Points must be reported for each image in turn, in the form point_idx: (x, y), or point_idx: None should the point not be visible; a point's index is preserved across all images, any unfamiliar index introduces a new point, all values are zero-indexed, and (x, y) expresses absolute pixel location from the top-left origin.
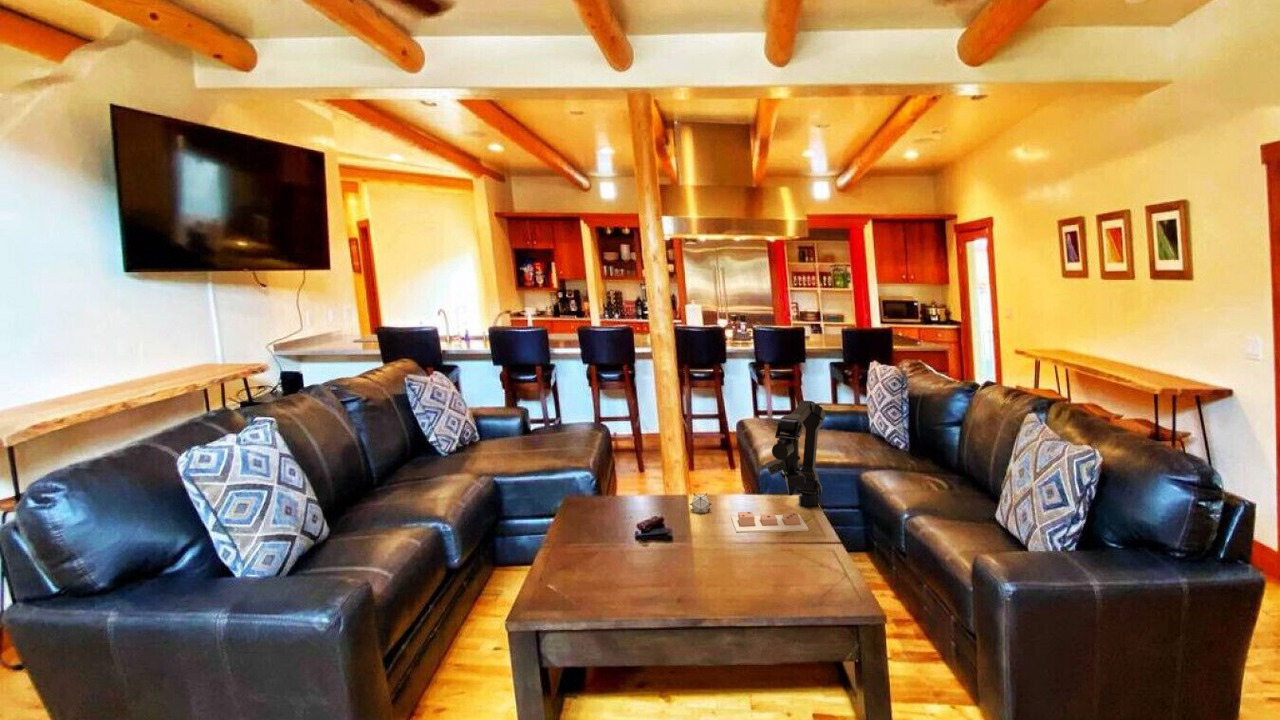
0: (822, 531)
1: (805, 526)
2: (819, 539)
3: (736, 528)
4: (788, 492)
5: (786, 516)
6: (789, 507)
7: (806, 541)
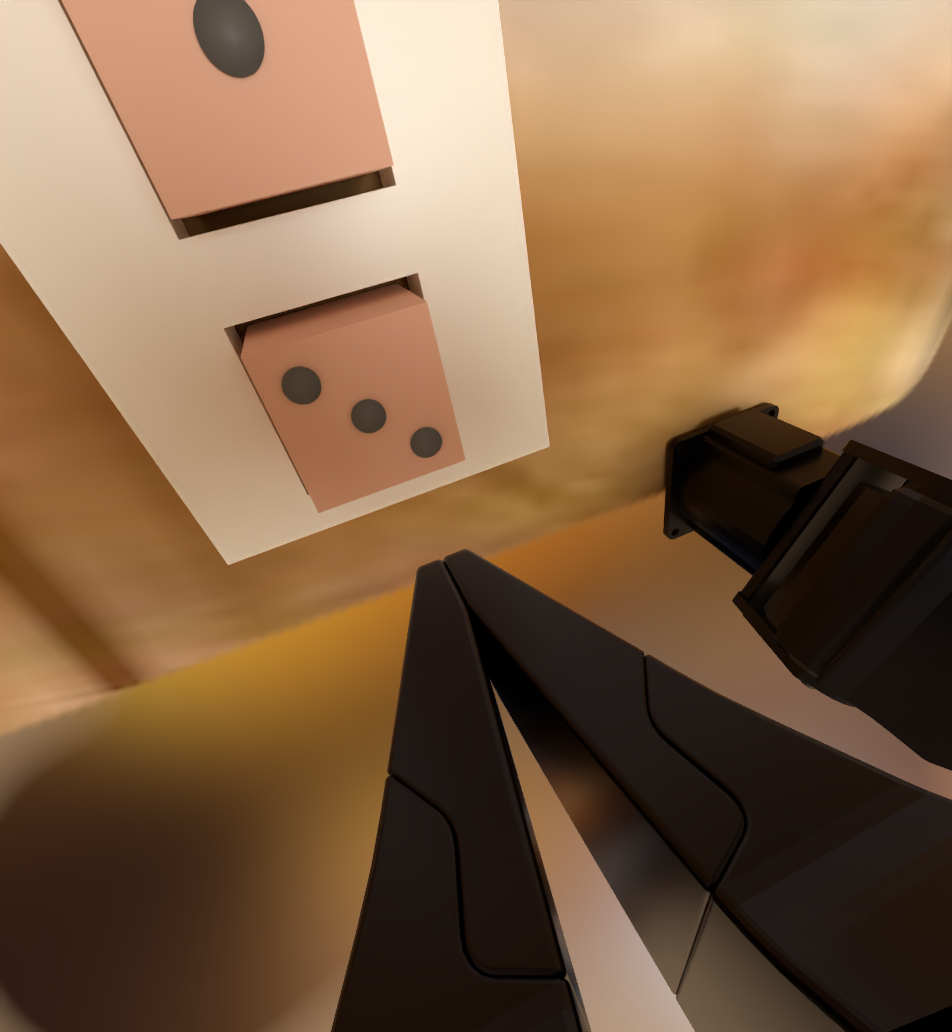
0: (331, 605)
1: (272, 534)
2: (154, 619)
3: None
4: (471, 575)
5: (337, 362)
6: (759, 331)
7: (35, 545)
